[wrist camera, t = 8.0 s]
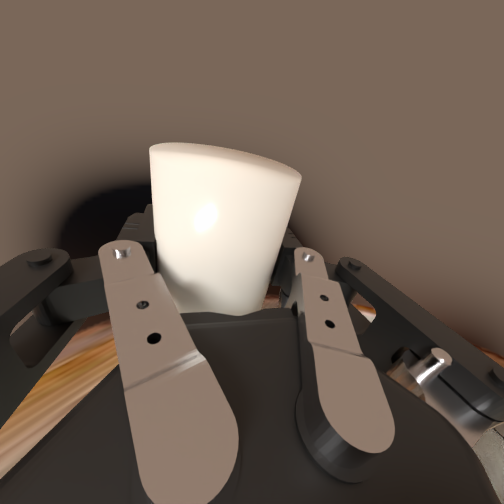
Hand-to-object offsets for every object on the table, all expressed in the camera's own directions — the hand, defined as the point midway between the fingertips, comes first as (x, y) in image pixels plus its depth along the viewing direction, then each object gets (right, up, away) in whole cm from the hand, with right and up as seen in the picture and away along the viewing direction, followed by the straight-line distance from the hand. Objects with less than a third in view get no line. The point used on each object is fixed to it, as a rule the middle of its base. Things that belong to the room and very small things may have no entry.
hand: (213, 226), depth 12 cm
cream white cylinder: (0, -6, +1) cm, 6 cm away
